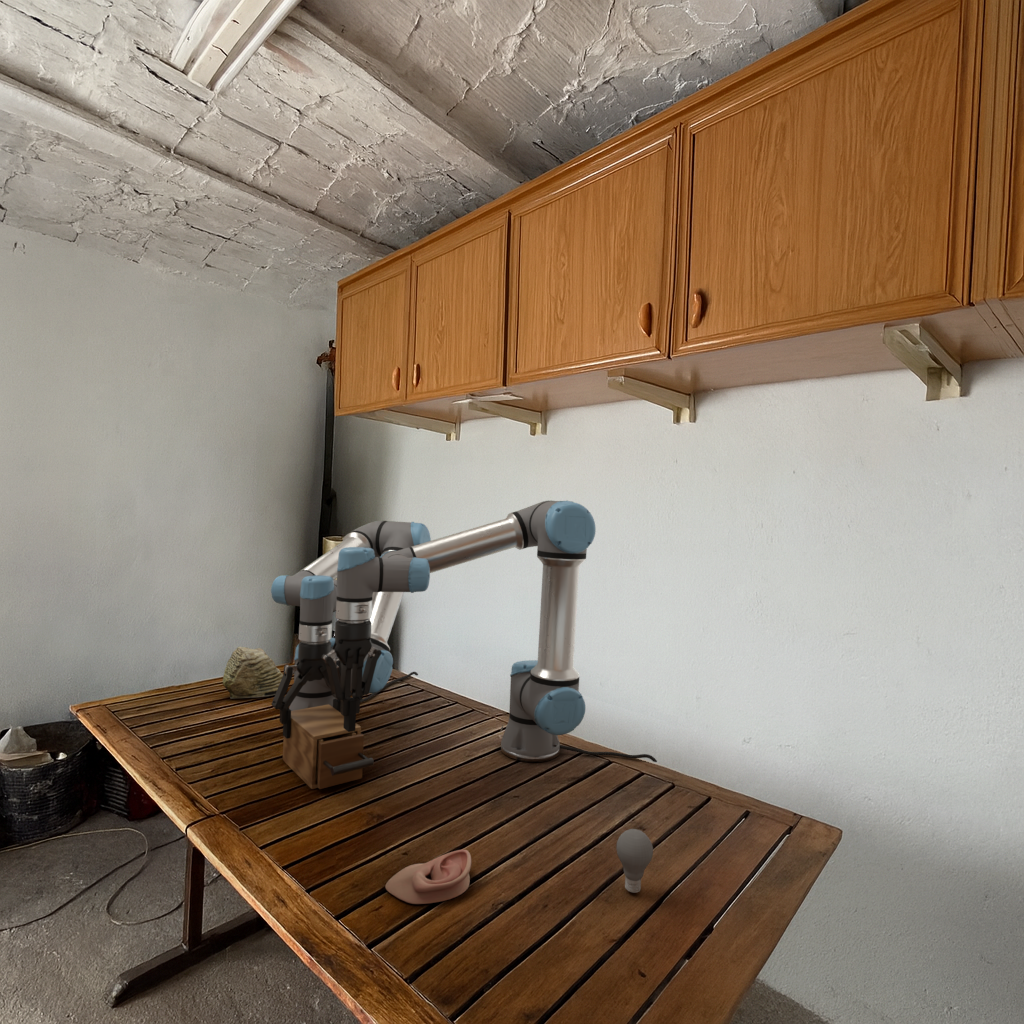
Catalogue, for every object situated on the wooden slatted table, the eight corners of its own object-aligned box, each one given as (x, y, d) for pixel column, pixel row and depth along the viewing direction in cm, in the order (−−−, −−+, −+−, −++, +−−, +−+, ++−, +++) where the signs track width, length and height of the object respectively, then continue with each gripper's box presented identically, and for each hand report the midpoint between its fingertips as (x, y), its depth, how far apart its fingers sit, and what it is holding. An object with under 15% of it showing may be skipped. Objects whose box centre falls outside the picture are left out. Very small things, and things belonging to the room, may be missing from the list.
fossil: (218, 695, 195) (220, 647, 195) (278, 685, 208) (279, 640, 207) (228, 703, 189) (230, 653, 188) (289, 692, 201) (290, 645, 201)
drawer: (374, 788, 137) (376, 743, 136) (330, 800, 130) (332, 753, 130) (331, 752, 155) (332, 712, 154) (291, 761, 148) (292, 720, 148)
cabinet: (359, 777, 144) (361, 726, 144) (311, 789, 137) (313, 736, 137) (326, 750, 158) (328, 704, 158) (282, 760, 151) (284, 712, 151)
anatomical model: (378, 873, 101) (404, 836, 112) (377, 898, 101) (403, 858, 112) (458, 887, 98) (477, 848, 109) (457, 912, 98) (476, 870, 109)
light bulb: (610, 879, 108) (613, 822, 108) (644, 879, 109) (647, 822, 109) (619, 902, 102) (622, 840, 102) (655, 901, 103) (658, 840, 103)
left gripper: (269, 649, 141) (266, 747, 141) (368, 638, 156) (364, 726, 156) (259, 643, 147) (255, 736, 147) (354, 633, 162) (351, 717, 162)
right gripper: (331, 625, 128) (327, 741, 129) (389, 620, 136) (385, 728, 137) (317, 619, 134) (313, 729, 135) (373, 614, 142) (369, 718, 143)
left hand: (311, 731), depth 152 cm, fingers open, 11 cm apart
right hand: (349, 729), depth 136 cm, fingers closed
